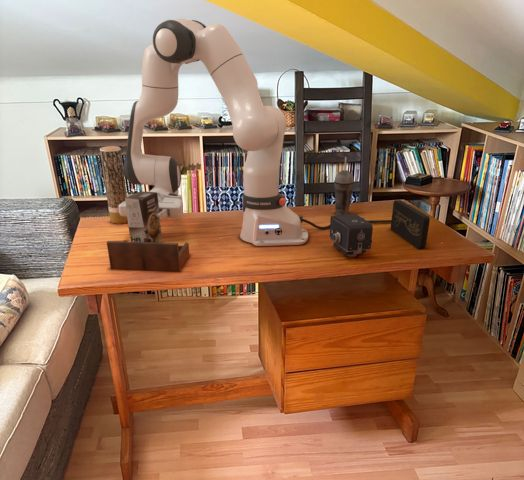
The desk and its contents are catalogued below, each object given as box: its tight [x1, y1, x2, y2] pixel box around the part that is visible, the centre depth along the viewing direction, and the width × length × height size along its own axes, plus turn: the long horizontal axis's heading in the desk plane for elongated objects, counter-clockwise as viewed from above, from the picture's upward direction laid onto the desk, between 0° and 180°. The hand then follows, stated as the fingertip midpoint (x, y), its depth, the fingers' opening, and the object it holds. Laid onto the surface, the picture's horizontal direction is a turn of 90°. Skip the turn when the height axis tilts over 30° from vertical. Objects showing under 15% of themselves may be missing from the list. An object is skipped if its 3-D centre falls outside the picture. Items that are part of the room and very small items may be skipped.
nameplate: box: [390, 199, 431, 250], centre depth 173 cm, size 21×2×10 cm, turn 14°
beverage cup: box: [333, 156, 355, 215], centre depth 195 cm, size 7×7×20 cm
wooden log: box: [99, 145, 128, 225], centre depth 186 cm, size 7×7×25 cm
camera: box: [328, 213, 374, 258], centre depth 162 cm, size 11×11×15 cm
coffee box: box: [125, 190, 164, 243], centre depth 166 cm, size 9×6×16 cm
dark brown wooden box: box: [106, 240, 190, 273], centre depth 156 cm, size 20×13×8 cm, turn 84°
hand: (144, 216), depth 165 cm, fingers closed on coffee box, 7 cm apart
